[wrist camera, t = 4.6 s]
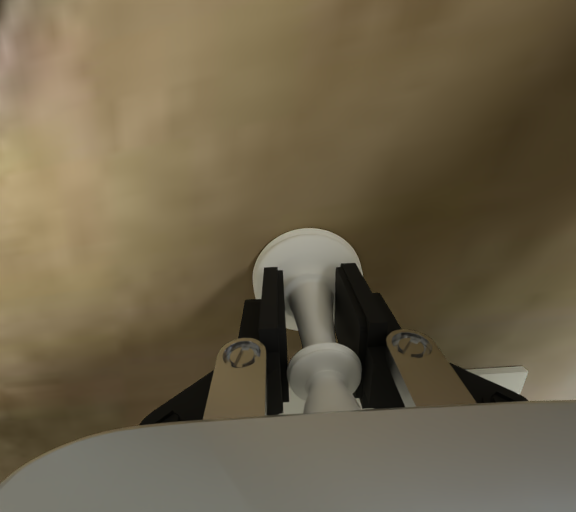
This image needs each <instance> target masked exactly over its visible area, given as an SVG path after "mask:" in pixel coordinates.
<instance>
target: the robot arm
mask: <svg viewBox="0 0 576 512" xmlns="http://www.w3.org/2000/svg"><path fill="white" fill-rule="evenodd" d="M334 327H335V332H336V336H337V339H338V343H339V344H341V345H344V346H346V347H348V348H350V349H351V350H352V351H354V352H355V354H356V355H357V356H358V358H359V359H360V362H361V366H362V373H361V381H360V384H359V386H358V388H357V389H356V390H355V392H354V393H353V396H354V397H355V398H359V399H360V403H361V406H362V409H366V408H374V409H366V410H348V411H331V412H315V413H298V414H283V415H278V414H281V413H283V402H289V383H288V380H287V367H288V360H287V338H286V318H285V300H284V281H283V270H278V267H264V274H263V285H262V296H261V299H251V300H245V303H244V309H243V314H242V320H241V325H240V331H239V337H238V339H235V340H233V341H230V342H228V343H227V344H225V345H224V346H223V347H222V348H221V349H220V351H219V353H218V355H217V359H216V364H215V368H214V370H213V371H212V372H210V373H209V374H207V375H206V376H205V377H203V378H202V379H200V380H199V381H197V382H196V383H194V384H193V385H191V386H190V387H188V388H187V389H185V390H184V391H182V392H181V393H179V394H178V395H177V396H175V397H174V398H172V399H171V400H169V401H168V402H166V403H165V404H163V405H162V406H160V407H159V408H157V409H156V410H154V411H153V412H152V413H150V414H149V415H148V416H147V417H146V418H144V420H143V421H142V422H141V423H140V425H138V426H130V427H125V428H119V429H114V430H108V431H104V432H101V433H97V434H93V435H90V436H86V437H83V438H80V439H77V440H75V441H72V442H69V443H67V444H64V445H61V446H59V447H56V448H54V449H52V450H50V451H48V452H46V453H44V454H42V455H40V456H38V457H36V458H34V459H32V460H30V461H29V462H27V463H26V464H24V465H23V466H21V467H20V468H18V469H17V470H15V471H14V472H13V473H12V474H10V475H9V476H8V477H7V478H6V479H5V480H3V481H2V482H1V483H0V512H576V400H557V401H528V400H527V399H526V398H524V397H523V396H521V395H519V394H517V393H516V392H514V391H512V390H509V389H507V388H505V387H503V386H500V385H498V384H496V383H494V382H491V381H489V380H487V379H485V378H482V377H480V376H478V375H476V374H474V373H471V372H469V371H467V370H465V369H462V368H460V367H458V366H456V365H453V364H451V363H449V362H448V361H447V359H446V358H445V356H444V355H443V353H442V352H441V350H440V349H439V348H438V346H437V345H436V343H435V342H434V341H433V340H432V339H431V338H430V337H428V336H427V335H425V334H423V333H421V332H418V331H415V330H410V329H401V327H400V326H399V324H398V322H397V321H396V319H395V317H394V316H393V314H392V312H391V311H390V309H389V307H388V306H387V304H386V303H385V301H384V299H383V298H382V296H381V294H380V293H372V292H371V290H370V288H369V286H368V285H367V283H366V281H365V279H364V278H363V276H362V274H361V272H360V270H359V269H358V267H357V265H356V263H341V266H340V267H336V274H335V312H334Z"/></svg>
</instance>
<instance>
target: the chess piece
mask: <svg viewBox="0 0 576 512" xmlns="http://www.w3.org/2000/svg"><path fill="white" fill-rule="evenodd" d="M341 263H356V265H357V267H358V269H359V270H360V272H361V274H362V276H363V272H362V268H361V264H360V261H359V258H358V256H357V254H356V252H355V251H354V249H353V248H352V247H351V245H350V244H349V243H348V242H346V241H345V240H344V239H343V238H341V237H340V236H338V235H336V234H334V233H332V232H329V231H326V230H322V229H316V228H303V229H296V230H292V231H289V232H287V233H284V234H282V235H280V236H278V237H277V238H275V239H274V240H272V241H271V242H270V243H269V244H268V245H267V246H266V247H265V248H264V249H263V250H262V252H261V253H260V255H259V256H258V258H257V260H256V263H255V266H254V270H253V288H254V294H255V298H256V299H261V296H262V285H263V274H264V267H278V270H283V281H284V300H285V318H286V328H288V329H291V330H296V331H298V332H299V335H300V339H301V342H302V347H303V349H301V350H300V351H298V352H297V353H296V354H295V355H294V356H293V357H292V359H291V360H290V362H289V364H288V367H287V380H288V382H289V384H290V387H291V389H292V391H293V392H294V393H295V395H296V396H298V397H299V398H300V399H302V400H304V401H306V402H305V406H304V411H303V413H315V412H331V411H348V410H362V409H361V408H360V406H359V404H358V402H357V401H356V399H355V397H354V396H353V395H352V394H353V393H354V392H355V390H356V389H357V388H358V386H359V384H360V381H361V373H362V366H361V362H360V359H359V358H358V356H357V355H356V354H355V352H354V351H352V350H351V349H350V348H348V347H346V346H344V345H341V344H338V343H336V340H335V329H334V312H335V274H336V267H340V266H341Z"/></svg>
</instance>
